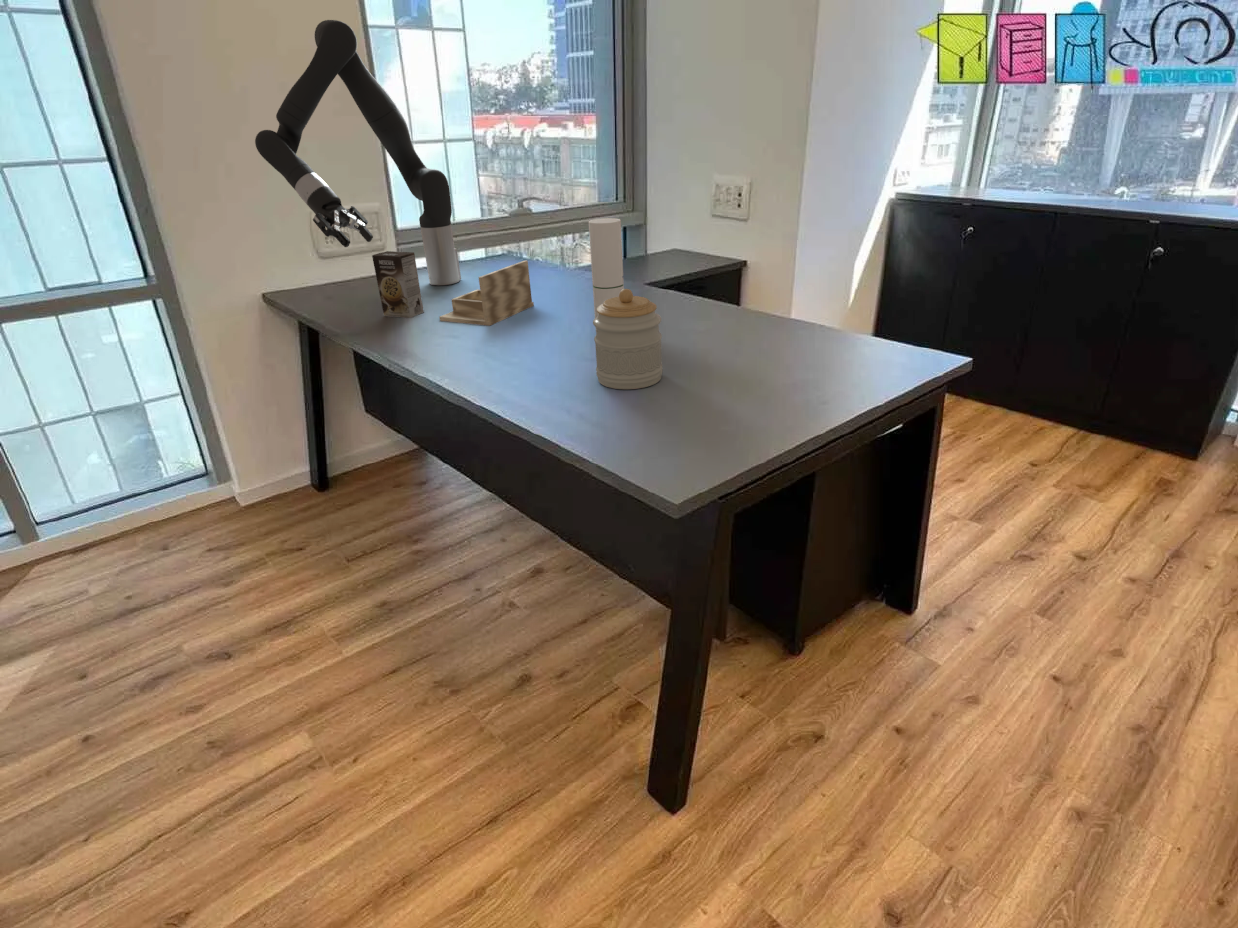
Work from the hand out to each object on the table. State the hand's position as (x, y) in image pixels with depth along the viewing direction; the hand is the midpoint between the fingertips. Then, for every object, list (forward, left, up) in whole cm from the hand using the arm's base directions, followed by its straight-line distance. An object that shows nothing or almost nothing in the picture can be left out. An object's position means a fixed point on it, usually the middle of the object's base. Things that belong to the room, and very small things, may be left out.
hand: (359, 242), depth 191 cm
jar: (+24, +91, -19) cm, 96 cm away
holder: (-8, +33, -18) cm, 39 cm away
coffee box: (0, +11, -19) cm, 22 cm away
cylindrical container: (-4, +72, -19) cm, 74 cm away
